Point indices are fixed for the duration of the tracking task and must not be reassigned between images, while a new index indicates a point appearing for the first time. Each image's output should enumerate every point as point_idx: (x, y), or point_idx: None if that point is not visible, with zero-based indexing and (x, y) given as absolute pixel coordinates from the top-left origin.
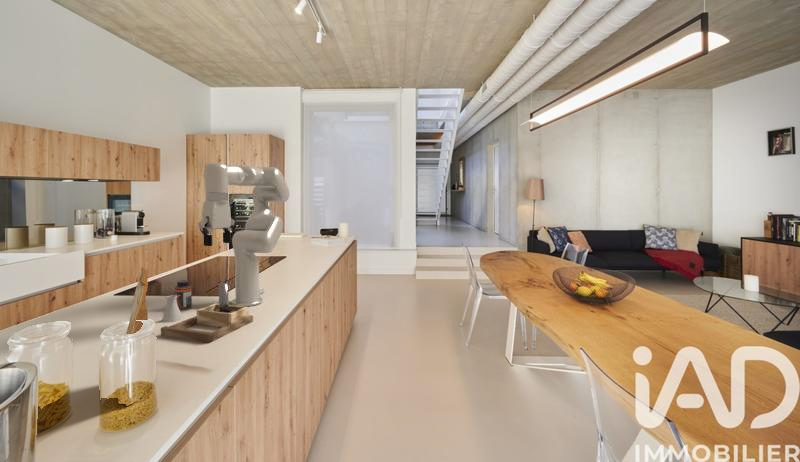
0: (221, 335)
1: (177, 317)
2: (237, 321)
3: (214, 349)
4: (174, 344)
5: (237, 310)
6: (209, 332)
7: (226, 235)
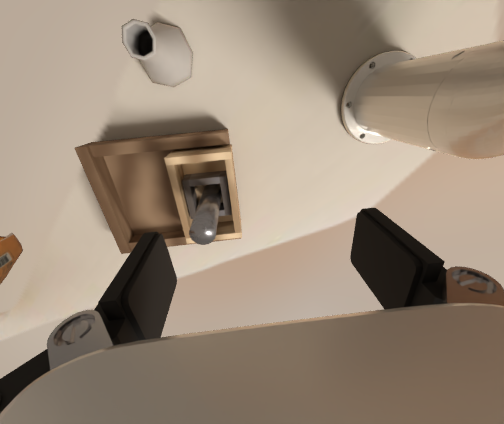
0: None
1: (163, 78)
2: None
3: None
4: None
5: None
6: (126, 247)
7: (389, 280)
